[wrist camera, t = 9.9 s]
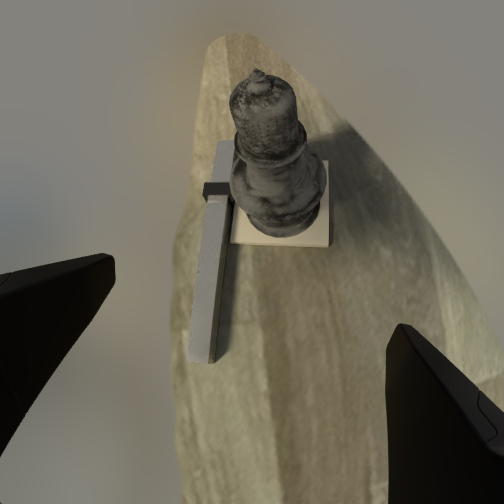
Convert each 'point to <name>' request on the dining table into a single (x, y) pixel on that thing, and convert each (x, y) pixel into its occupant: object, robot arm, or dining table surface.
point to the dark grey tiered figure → (273, 158)
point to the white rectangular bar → (212, 257)
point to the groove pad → (309, 238)
